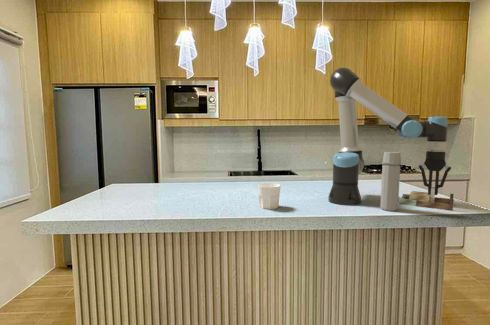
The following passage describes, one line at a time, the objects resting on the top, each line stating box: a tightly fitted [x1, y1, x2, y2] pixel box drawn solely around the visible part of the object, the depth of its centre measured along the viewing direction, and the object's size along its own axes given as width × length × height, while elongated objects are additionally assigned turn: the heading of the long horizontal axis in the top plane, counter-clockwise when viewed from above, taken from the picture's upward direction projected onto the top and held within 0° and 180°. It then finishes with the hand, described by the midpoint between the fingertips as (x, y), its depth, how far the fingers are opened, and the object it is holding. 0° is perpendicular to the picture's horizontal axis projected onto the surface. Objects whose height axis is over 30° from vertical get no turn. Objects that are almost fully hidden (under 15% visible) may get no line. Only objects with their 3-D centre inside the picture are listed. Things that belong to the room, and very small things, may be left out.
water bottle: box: [379, 151, 402, 212], centre depth 132 cm, size 9×8×25 cm
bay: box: [398, 193, 454, 211], centre depth 142 cm, size 21×14×5 cm, turn 56°
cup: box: [257, 182, 281, 210], centre depth 136 cm, size 10×10×10 cm
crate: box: [409, 190, 431, 202], centre depth 143 cm, size 8×8×5 cm
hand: (432, 201), depth 141 cm, fingers closed
